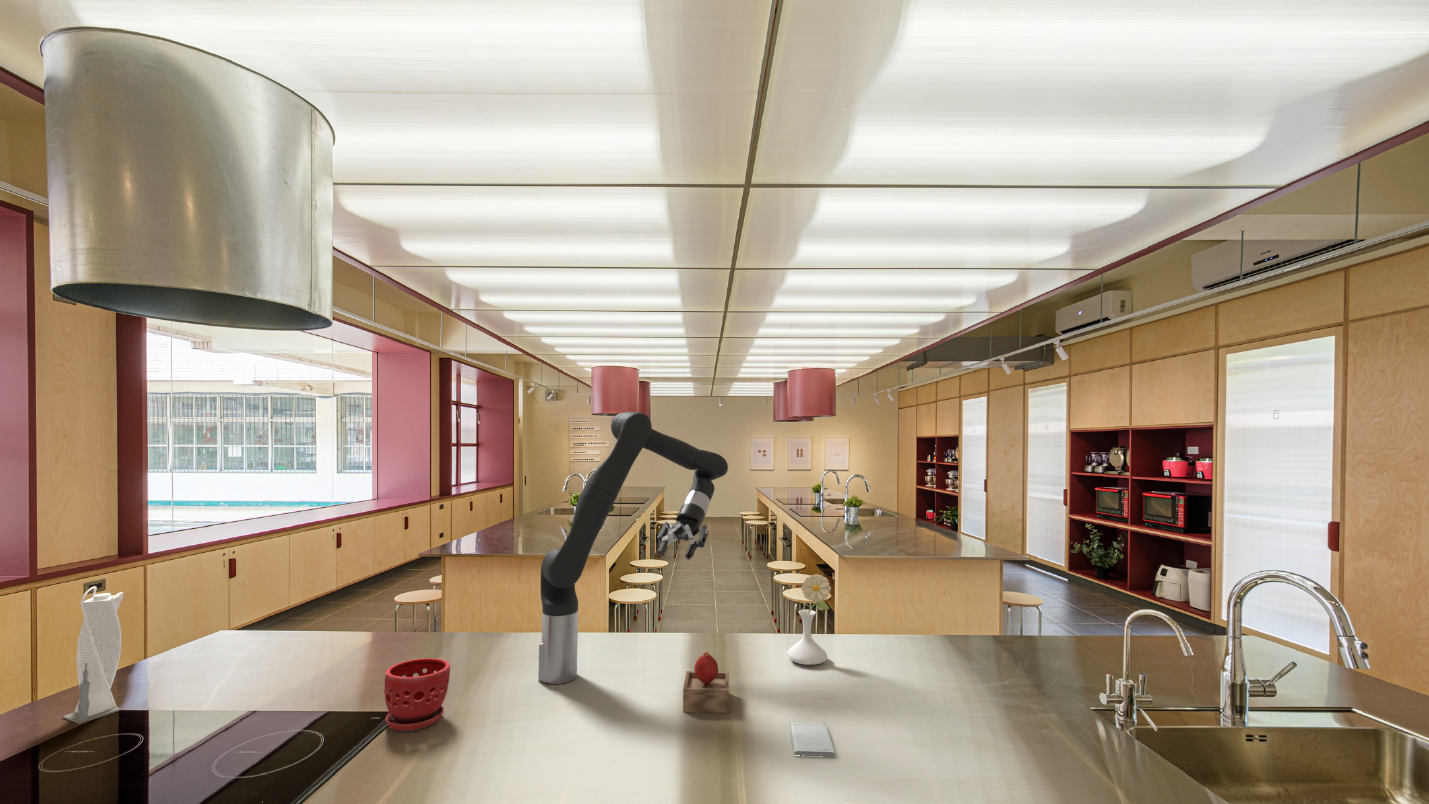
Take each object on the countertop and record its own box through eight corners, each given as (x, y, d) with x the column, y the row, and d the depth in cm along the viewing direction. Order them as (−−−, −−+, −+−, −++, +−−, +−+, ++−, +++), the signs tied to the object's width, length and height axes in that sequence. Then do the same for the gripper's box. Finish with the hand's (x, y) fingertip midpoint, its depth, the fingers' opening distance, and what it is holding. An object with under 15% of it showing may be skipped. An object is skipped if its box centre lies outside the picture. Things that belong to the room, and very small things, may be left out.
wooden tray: (682, 712, 140) (683, 689, 140) (686, 692, 150) (686, 671, 150) (728, 712, 139) (728, 689, 140) (728, 693, 150) (728, 671, 150)
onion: (693, 680, 148) (693, 647, 148) (716, 679, 148) (717, 646, 149) (694, 690, 142) (695, 655, 142) (719, 689, 143) (719, 655, 143)
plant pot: (439, 733, 129) (440, 676, 129) (373, 738, 127) (375, 679, 127) (455, 706, 142) (456, 654, 142) (395, 709, 140) (397, 657, 140)
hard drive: (835, 752, 121) (826, 722, 133) (794, 751, 121) (789, 721, 133) (835, 760, 121) (826, 729, 133) (794, 759, 121) (789, 728, 133)
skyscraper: (59, 716, 135) (67, 590, 136) (106, 702, 142) (113, 582, 144) (79, 724, 132) (87, 594, 133) (126, 708, 139) (133, 585, 141)
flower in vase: (779, 662, 170) (780, 573, 171) (798, 651, 179) (798, 566, 181) (822, 673, 163) (822, 580, 164) (839, 660, 172) (839, 572, 173)
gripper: (668, 500, 178) (646, 545, 167) (711, 503, 172) (691, 550, 161) (677, 516, 183) (656, 561, 172) (719, 519, 176) (700, 566, 165)
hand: (673, 556), depth 166 cm, fingers open, 8 cm apart
